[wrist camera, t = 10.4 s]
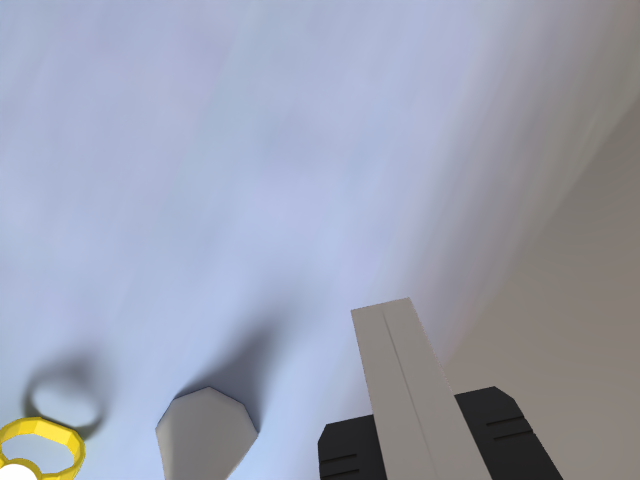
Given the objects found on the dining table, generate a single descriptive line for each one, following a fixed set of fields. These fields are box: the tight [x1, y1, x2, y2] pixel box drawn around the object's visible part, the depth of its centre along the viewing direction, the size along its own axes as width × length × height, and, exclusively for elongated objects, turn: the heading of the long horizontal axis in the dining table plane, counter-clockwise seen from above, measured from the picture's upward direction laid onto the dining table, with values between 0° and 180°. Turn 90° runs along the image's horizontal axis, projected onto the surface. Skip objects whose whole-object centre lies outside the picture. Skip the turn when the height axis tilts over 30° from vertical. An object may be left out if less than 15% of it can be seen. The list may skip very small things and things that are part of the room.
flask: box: [155, 387, 258, 480], centre depth 40 cm, size 7×7×10 cm
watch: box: [0, 417, 85, 480], centre depth 42 cm, size 6×3×6 cm, turn 65°
